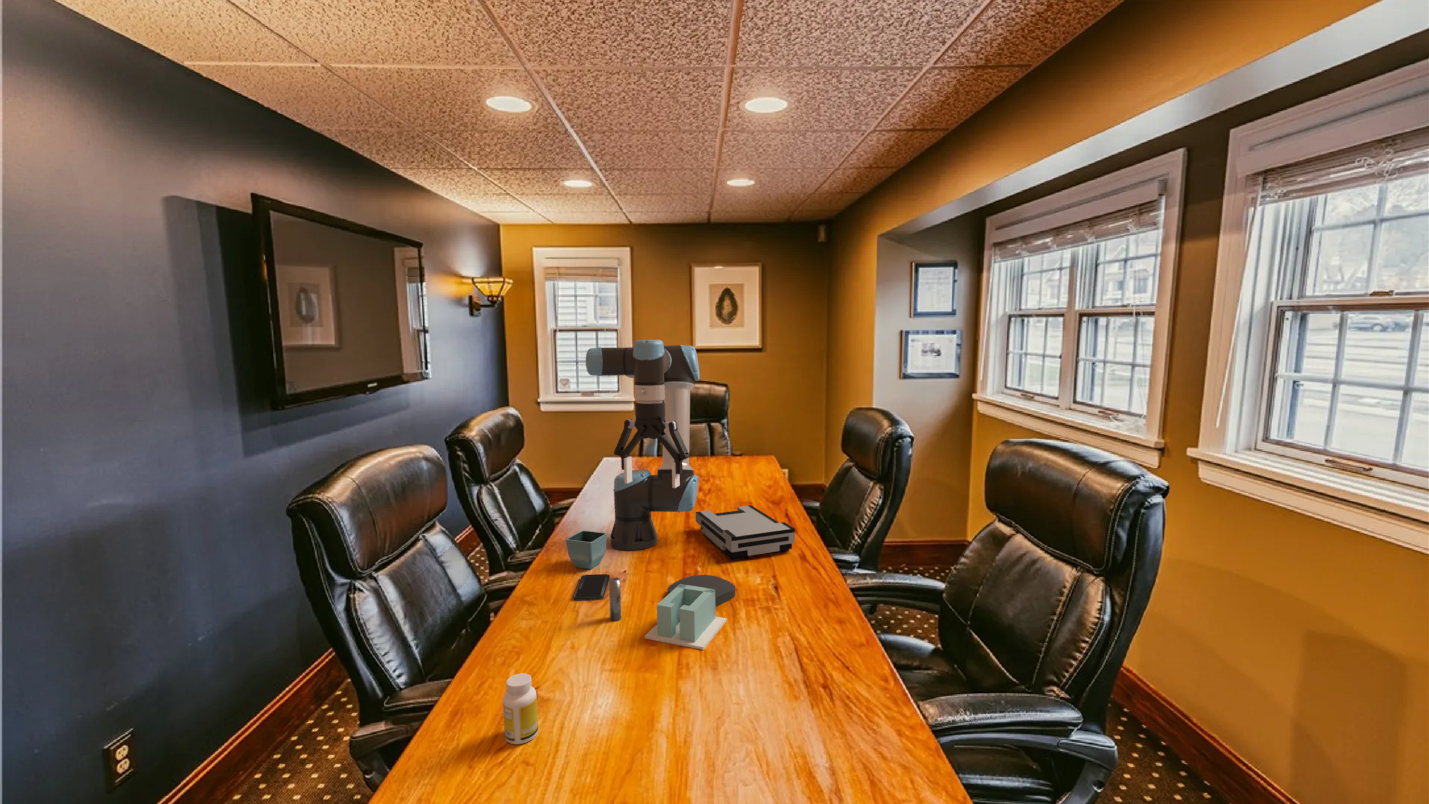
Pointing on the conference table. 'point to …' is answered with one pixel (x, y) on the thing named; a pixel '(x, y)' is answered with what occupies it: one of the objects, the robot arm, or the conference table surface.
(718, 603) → the media streaming box
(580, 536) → the flower pot
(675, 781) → the conference table surface
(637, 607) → the conference table surface
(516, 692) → the supplement bottle
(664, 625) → the green u-shaped block
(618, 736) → the conference table surface
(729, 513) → the game console
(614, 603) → the grey cylinder
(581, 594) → the phone
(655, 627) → the mat
